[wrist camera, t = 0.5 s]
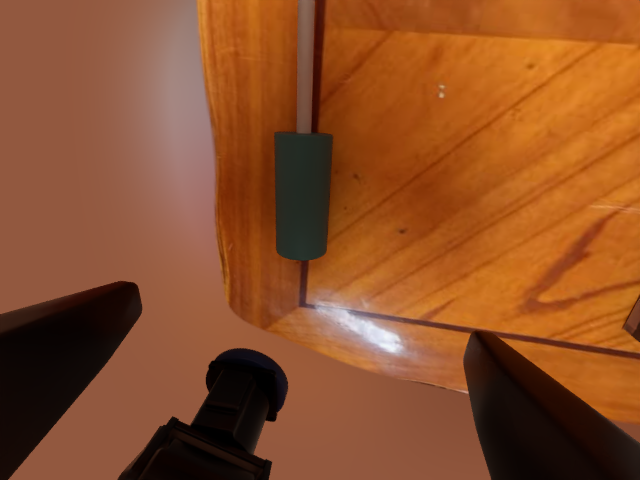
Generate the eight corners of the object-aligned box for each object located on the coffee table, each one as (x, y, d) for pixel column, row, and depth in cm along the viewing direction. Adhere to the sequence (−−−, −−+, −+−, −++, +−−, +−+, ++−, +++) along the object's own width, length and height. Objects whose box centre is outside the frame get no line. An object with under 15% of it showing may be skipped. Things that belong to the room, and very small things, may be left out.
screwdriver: (329, 242, 20) (322, 263, 17) (284, 237, 21) (269, 257, 18) (345, -23, 15) (338, -57, 12) (283, -21, 15) (261, -54, 12)
